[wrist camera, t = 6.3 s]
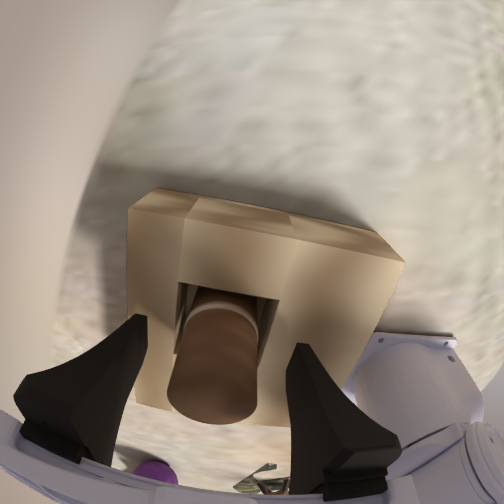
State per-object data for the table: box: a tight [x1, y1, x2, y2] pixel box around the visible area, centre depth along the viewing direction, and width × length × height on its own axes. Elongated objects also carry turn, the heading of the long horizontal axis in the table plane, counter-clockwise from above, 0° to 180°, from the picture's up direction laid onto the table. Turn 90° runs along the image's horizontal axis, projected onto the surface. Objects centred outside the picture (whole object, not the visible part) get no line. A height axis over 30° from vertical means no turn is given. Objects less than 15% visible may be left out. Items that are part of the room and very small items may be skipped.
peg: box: [167, 286, 258, 425], centre depth 14 cm, size 4×4×8 cm
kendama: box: [134, 461, 178, 485], centre depth 31 cm, size 6×6×20 cm
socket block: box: [126, 188, 406, 427], centre depth 17 cm, size 13×14×4 cm
